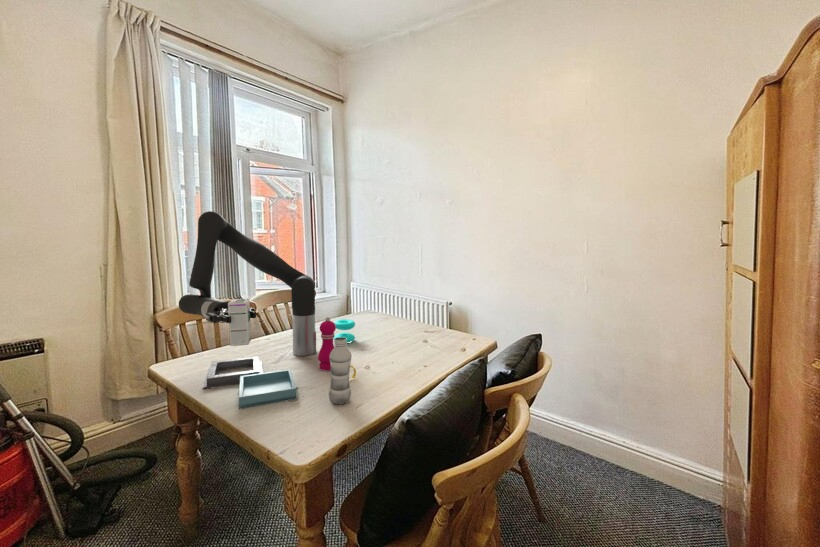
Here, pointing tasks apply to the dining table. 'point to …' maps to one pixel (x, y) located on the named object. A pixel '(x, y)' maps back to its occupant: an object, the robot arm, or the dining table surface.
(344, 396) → the plastic bottle
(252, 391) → the tray
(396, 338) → the dining table surface
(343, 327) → the donuts
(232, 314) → the syrup box
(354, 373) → the watch
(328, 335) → the pepper mill
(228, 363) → the metal socket
